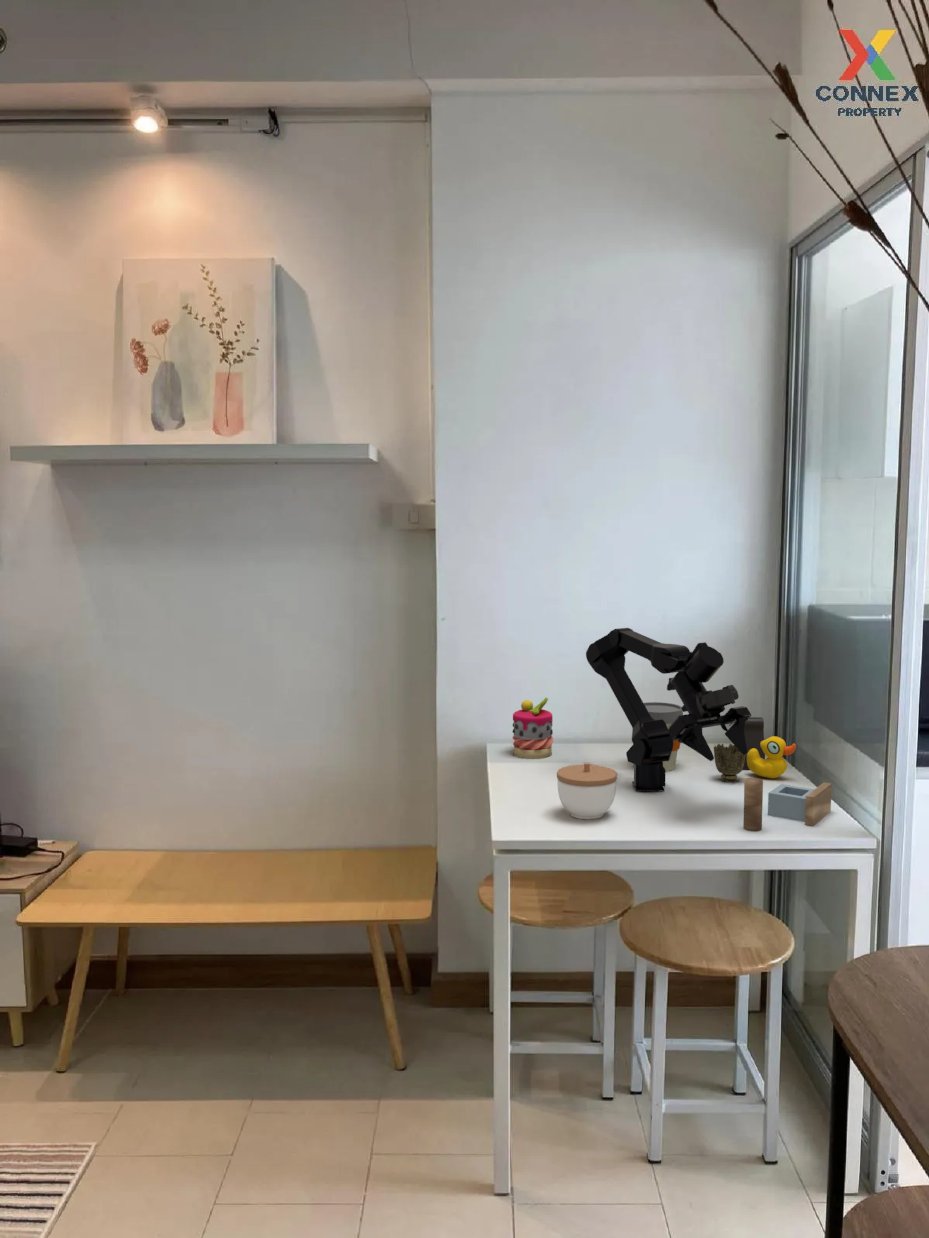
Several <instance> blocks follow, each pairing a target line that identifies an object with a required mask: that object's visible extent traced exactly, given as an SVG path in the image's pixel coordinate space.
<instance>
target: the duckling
mask: <svg viewBox="0 0 929 1238" xmlns="http://www.w3.org/2000/svg"><path fill="white" fill-rule="evenodd" d="M760 746H761V748H762V750H763V752H764V754H765V757H767V758H765V759H762V758H761V757H760V755H759V753H758V750H757V749H755V748H753V749H750V750H749V752H748V754H747V765H748V768H749V769H750V770H749V771H750V772H752V773H754V775H756V776H759V777H762V778H766V779H777V778H779V777H780V776H782V775H783V774H784V773H785V772H786V771H787V768H788V763H787V760H786V759H785V758H784V757H783V756H790V755H792V754H794V753H795V751H796V748H797V745H796V743H792V745H789V746H787V744H786V741H785V740H784V739H783V738H781V737H779V736H777V735H776V736H774V735H773V736H770V737H768V738H766V739H764V740H763V741H761V743H760Z"/></svg>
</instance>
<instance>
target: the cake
mask: <svg viewBox="0 0 929 1238" xmlns="http://www.w3.org/2000/svg"><path fill="white" fill-rule="evenodd" d="M548 701H549V698H548V697H544V699H543V700H541V701H540V702H539V703H537V705H535V706H534V704H533V702H532V701H531V700H529V699H525V700H523V701H522V702H521V704H520V708H521V709H519V710H516V711H514V712H513V713H512V721H513V723H512V727H513V729H512V733H513V735H512V740H514V741H513V743H512V745H513V755H514V756H515V757H517V758H519V759H526V760H541V759H546V758H547V759H548V758H549V757H552V755H553V752H552V747H553V746H552V745H553V743H554V738H553V733H554V732H553V729H552V727H553V713H552V711H551V712H550V711H549V710H545V709H543V708H544V706H545V705H546V704H548Z"/></svg>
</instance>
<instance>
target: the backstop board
mask: <svg viewBox="0 0 929 1238" xmlns="http://www.w3.org/2000/svg"><path fill="white" fill-rule="evenodd" d="M832 785H833V784H832V783H831V782H825V781H824V782H822V783H821V784H820V785H818V786H817V787H816V788H814V789H815V790H813V791H812V792H811V793H809V794H808V795H807V796H806V805H805V822H804V825H805V826H810V827H814V826H815V825H816V824H817V823H819V822H820V820H822V819H823V818H825V816H827V815H828V814H829V813H830V812H831V810H832Z"/></svg>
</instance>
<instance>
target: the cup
mask: <svg viewBox="0 0 929 1238" xmlns="http://www.w3.org/2000/svg"><path fill="white" fill-rule="evenodd" d="M713 756H714V763H715V768H716V769H717V771H718V773H720V774H721V775H720V777H721V779H722V780H723V781H724V782H735V781H737V779H738V774H740V773H741V772H742V771H743V770H742V769H743V766H744V762H745V755H743V754H742V753H741V752H740V751H739V750H738V749H737V748H736V746H735V745H734V744H733V743H729V744H728V746H725V745H724V743H722V744H720V743H717V745H716V744H714V745H713Z"/></svg>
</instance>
